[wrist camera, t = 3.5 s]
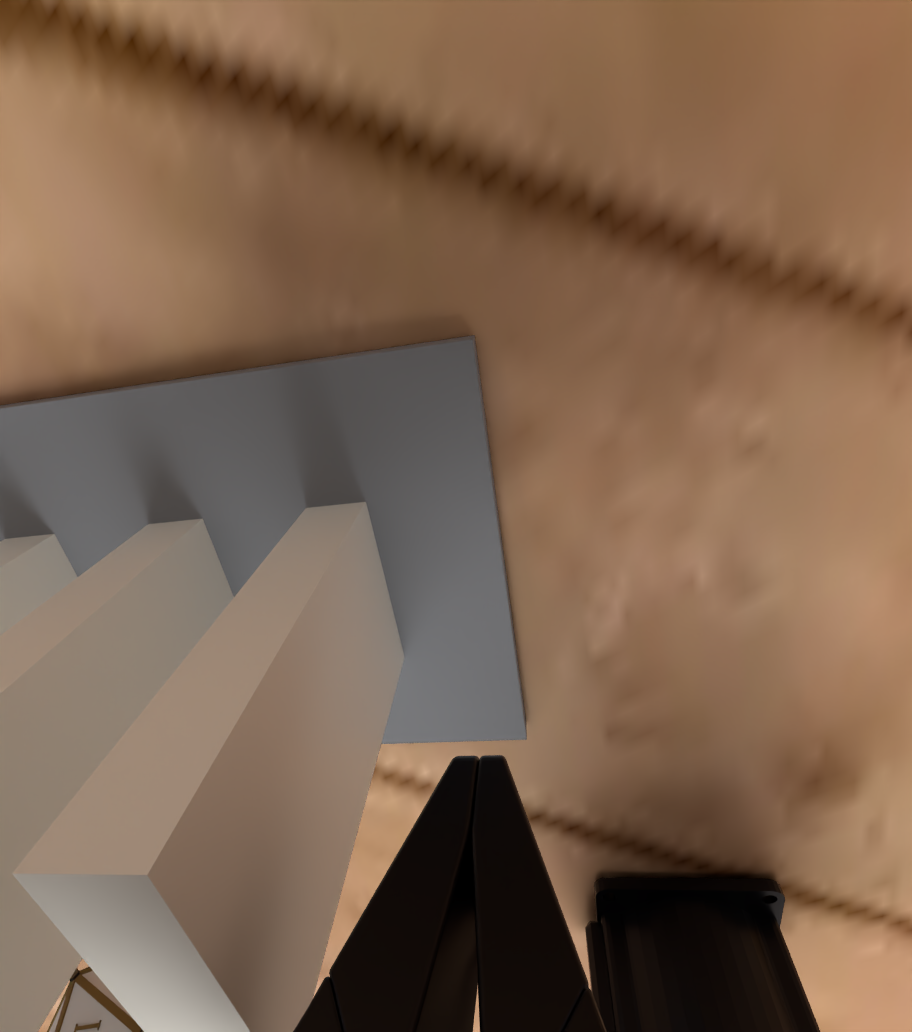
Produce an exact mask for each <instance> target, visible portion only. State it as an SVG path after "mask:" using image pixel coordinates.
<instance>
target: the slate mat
mask: <svg viewBox="0 0 912 1032" xmlns="http://www.w3.org/2000/svg"><path fill="white" fill-rule="evenodd" d="M359 502H366V504H367V508H368V512H369V516H370V520H371V524H372V528H373V532H374V536H375V540H376V544H377V548H378V552H379V556H380V560H381V564H382V568H383V572H384V576H385V581H386V585H387V589H388V593H389V597H390V601H391V605H392V609H393V613H394V617H395V621H396V625H397V629H398V633H399V637H400V641H401V645H402V649H403V653H404V661H403V665H402V668H401V672H400V676H399V679H398V683H397V687H396V691H395V694H394V698H393V702H392V705H391V709H390V713H389V717H388V720H387V724H386V728H385V731H384V735H383V739H382V743H381V744H395V743H428V742H461V741H494V740H527V734H526V718H525V711H524V703H523V696H522V688H521V681H520V673H519V666H518V658H517V651H516V643H515V636H514V628H513V621H512V613H511V606H510V598H509V591H508V583H507V576H506V568H505V561H504V553H503V546H502V538H501V531H500V523H499V516H498V508H497V501H496V493H495V486H494V478H493V471H492V463H491V456H490V448H489V441H488V433H487V426H486V418H485V411H484V403H483V396H482V388H481V381H480V373H479V366H478V358H477V351H476V343H475V336H474V335H472V336H466V337H459V338H452V339H445V340H439V341H432V342H425V343H418V344H412V345H405V346H398V347H391V348H385V349H378V350H371V351H364V352H358V353H351V354H344V355H337V356H331V357H324V358H317V359H310V360H304V361H297V362H290V363H283V364H277V365H270V366H263V367H256V368H250V369H243V370H236V371H229V372H223V373H216V374H209V375H202V376H196V377H189V378H182V379H175V380H169V381H162V382H155V383H148V384H142V385H135V386H128V387H121V388H115V389H108V390H101V391H94V392H88V393H81V394H74V395H67V396H61V397H54V398H47V399H40V400H34V401H27V402H20V403H13V404H7V405H0V542H1V541H2V540H4V539H9V538H19V537H29V536H39V535H48V534H55V536H56V538H57V540H58V542H59V543H60V545H61V547H62V549H63V551H64V553H65V555H66V556H67V558H68V560H69V562H70V564H71V566H72V567H73V569H74V571H75V573H76V575H77V577H79V576H80V575H81V574H83V573H84V572H85V571H87V570H88V569H89V568H91V567H92V566H93V565H95V564H96V563H97V562H99V561H100V560H101V559H103V558H104V557H105V556H107V555H108V554H109V553H111V552H112V551H113V550H115V549H116V548H117V547H119V546H120V545H121V544H123V543H124V542H125V541H127V540H128V539H129V538H131V537H132V536H133V535H135V534H136V533H137V532H139V531H140V530H141V529H142V528H144V527H145V526H146V525H148V524H155V523H165V522H174V521H184V520H194V519H203V521H204V524H205V526H206V529H207V531H208V534H209V536H210V539H211V541H212V544H213V546H214V549H215V551H216V554H217V556H218V559H219V561H220V564H221V566H222V569H223V571H224V574H225V576H226V579H227V581H228V584H229V586H230V589H231V591H232V594H233V596H234V597H235V596H236V594H237V593H238V592H239V591H240V589H241V588H242V587H243V586H244V584H245V583H246V582H247V581H248V579H249V578H250V577H251V576H252V574H253V573H254V572H255V571H256V569H257V568H258V567H259V566H260V564H261V563H262V562H263V561H264V559H265V558H266V557H267V556H268V555H269V553H270V552H271V551H272V550H273V548H274V547H275V546H276V545H277V543H278V542H279V541H280V540H281V538H282V537H283V536H284V535H285V533H286V532H287V531H288V530H289V528H290V527H291V526H292V525H293V523H294V522H295V521H296V520H297V518H298V517H299V516H300V515H301V513H302V512H303V511H304V510H305V508H310V507H320V506H330V505H339V504H349V503H359Z"/></svg>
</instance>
